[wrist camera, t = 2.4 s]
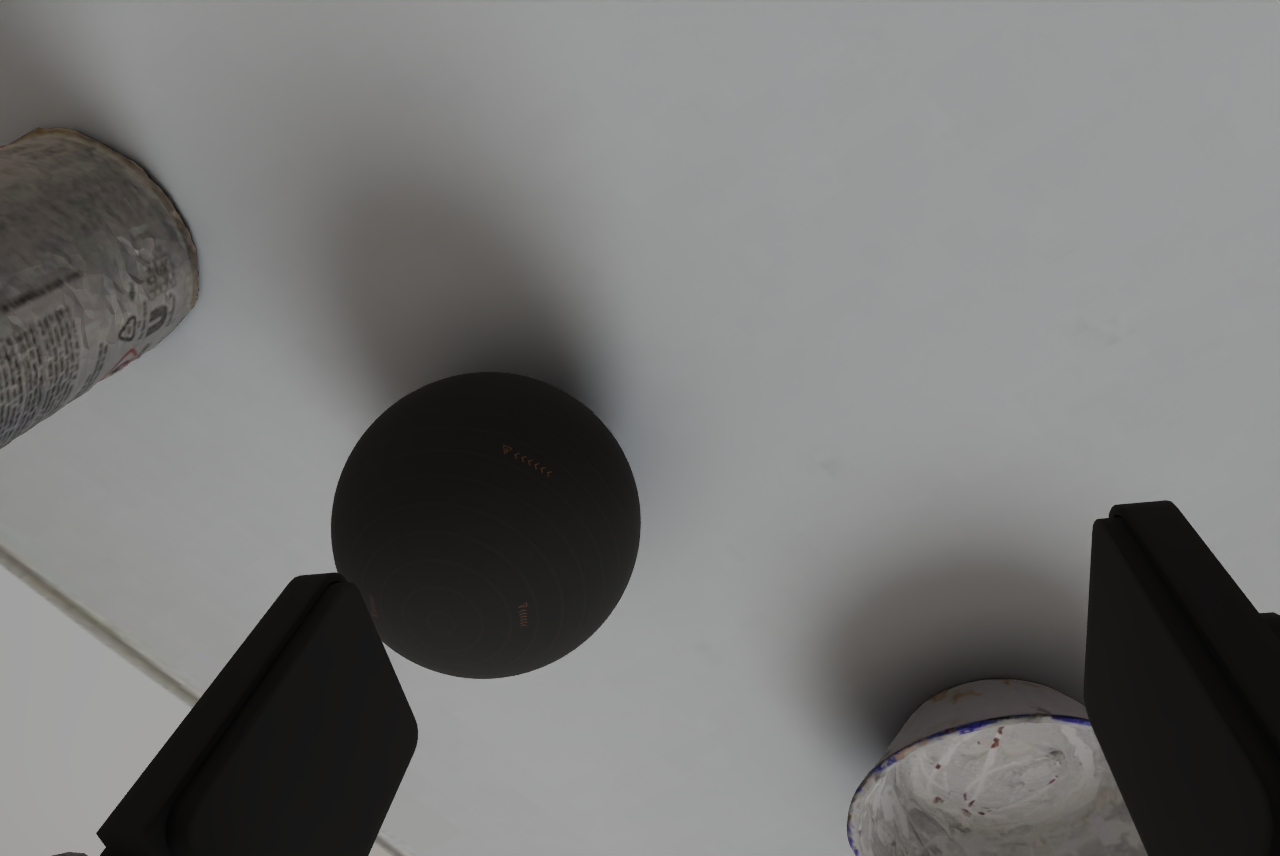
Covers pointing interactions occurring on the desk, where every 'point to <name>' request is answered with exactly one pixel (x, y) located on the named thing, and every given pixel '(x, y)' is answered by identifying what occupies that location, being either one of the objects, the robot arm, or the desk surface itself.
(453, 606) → the speaker
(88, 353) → the spray can
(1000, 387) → the desk surface
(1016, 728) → the bowl
